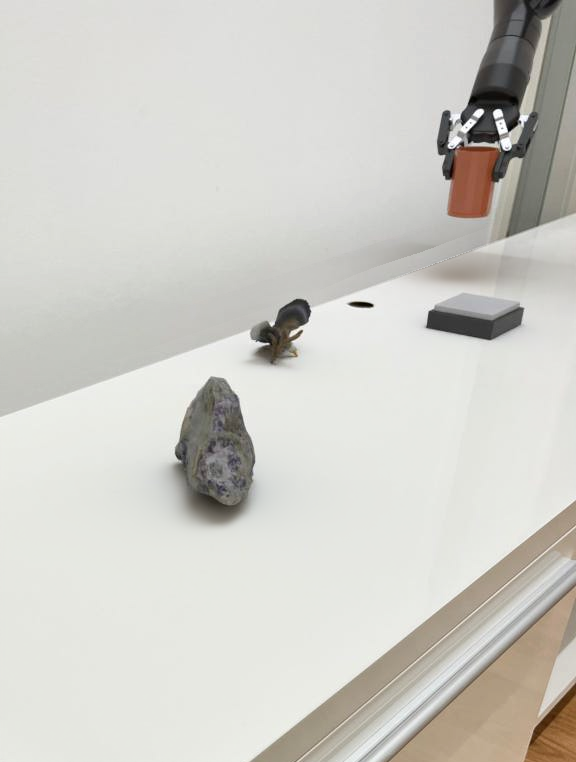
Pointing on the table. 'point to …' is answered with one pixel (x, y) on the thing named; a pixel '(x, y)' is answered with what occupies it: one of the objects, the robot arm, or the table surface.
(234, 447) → the mineral rock
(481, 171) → the cup
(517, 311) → the scale
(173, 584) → the table surface
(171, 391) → the table surface
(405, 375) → the table surface
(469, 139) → the robot arm
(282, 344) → the grey-brown irregular figure
